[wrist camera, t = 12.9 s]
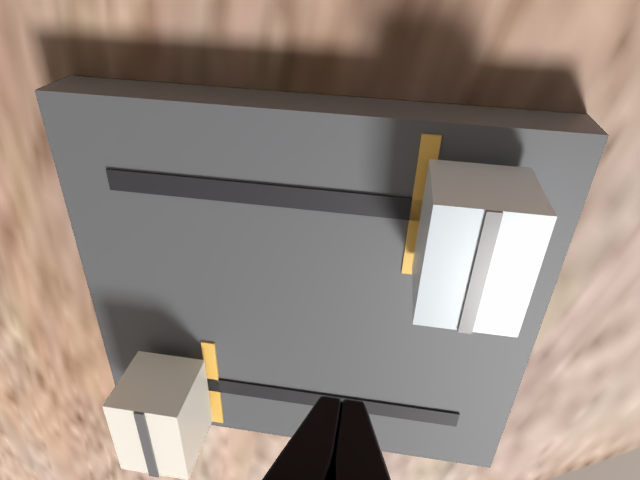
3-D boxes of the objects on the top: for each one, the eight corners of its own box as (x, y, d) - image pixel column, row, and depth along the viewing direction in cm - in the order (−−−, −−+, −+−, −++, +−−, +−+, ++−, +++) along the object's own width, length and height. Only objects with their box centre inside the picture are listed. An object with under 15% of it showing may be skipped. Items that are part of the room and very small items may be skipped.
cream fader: (204, 360, 21) (175, 420, 19) (212, 420, 23) (187, 482, 21) (138, 351, 22) (101, 408, 19) (152, 411, 24) (120, 471, 21)
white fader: (531, 167, 15) (558, 218, 12) (501, 276, 17) (518, 340, 14) (429, 159, 15) (433, 206, 12) (411, 266, 17) (412, 326, 14)
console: (587, 113, 16) (609, 136, 14) (484, 431, 24) (490, 469, 23) (69, 75, 18) (32, 90, 16) (140, 380, 26) (121, 412, 25)
